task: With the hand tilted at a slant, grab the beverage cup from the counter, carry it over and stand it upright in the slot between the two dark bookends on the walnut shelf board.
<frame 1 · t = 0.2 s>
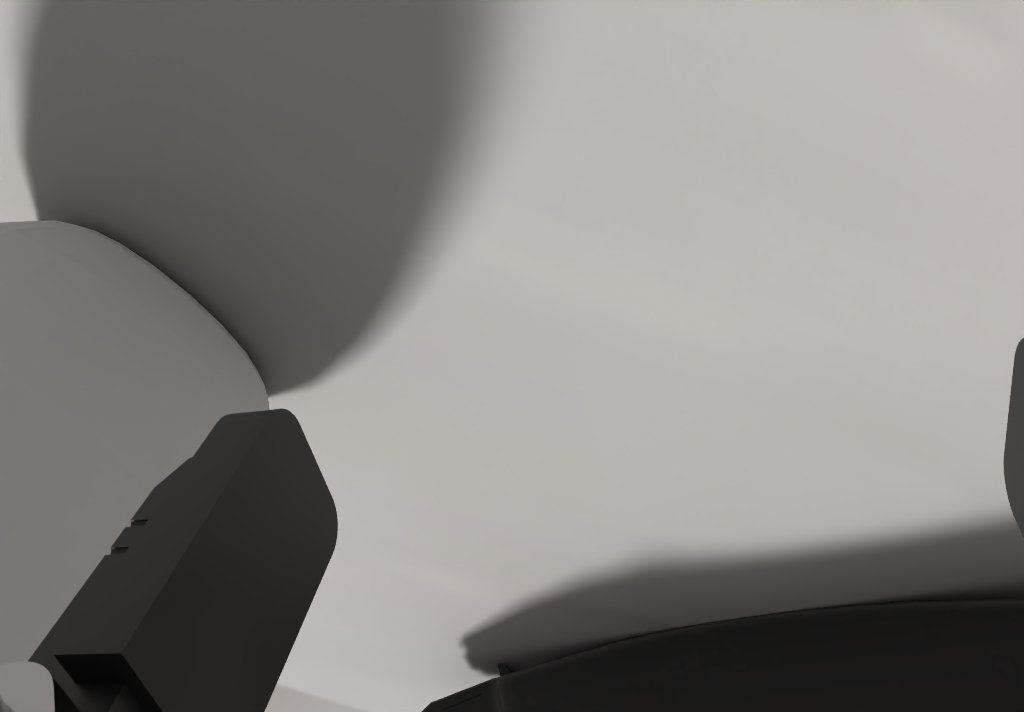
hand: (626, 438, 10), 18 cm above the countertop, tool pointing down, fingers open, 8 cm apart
soap bottle: (174, 306, 32), on the countertop
magazine: (732, 633, 40), on the countertop
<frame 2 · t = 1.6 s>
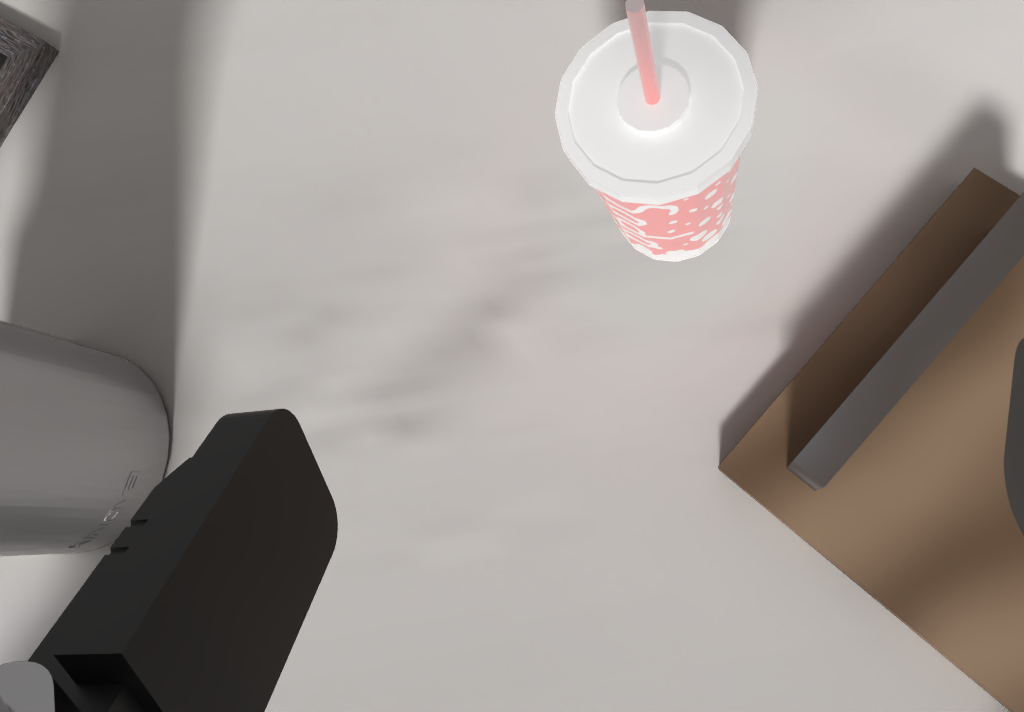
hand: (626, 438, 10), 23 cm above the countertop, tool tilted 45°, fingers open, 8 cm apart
beverage cup: (674, 209, 34), on the countertop
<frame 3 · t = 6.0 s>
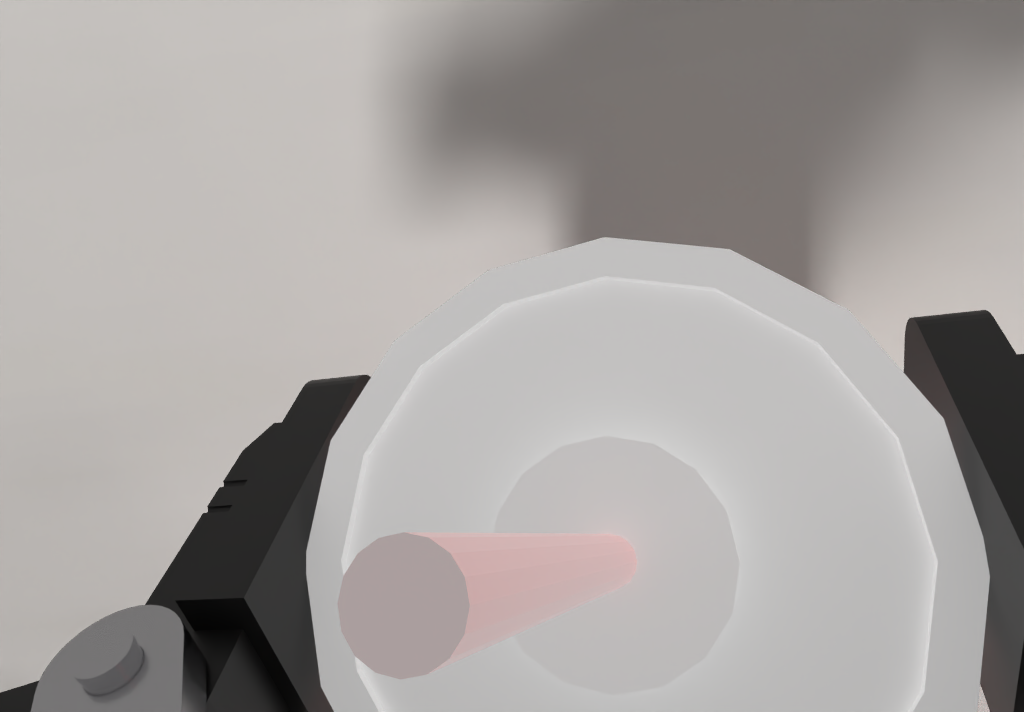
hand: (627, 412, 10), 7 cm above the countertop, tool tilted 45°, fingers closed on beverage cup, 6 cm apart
beverage cup: (680, 546, 16), on the countertop, touching gripper
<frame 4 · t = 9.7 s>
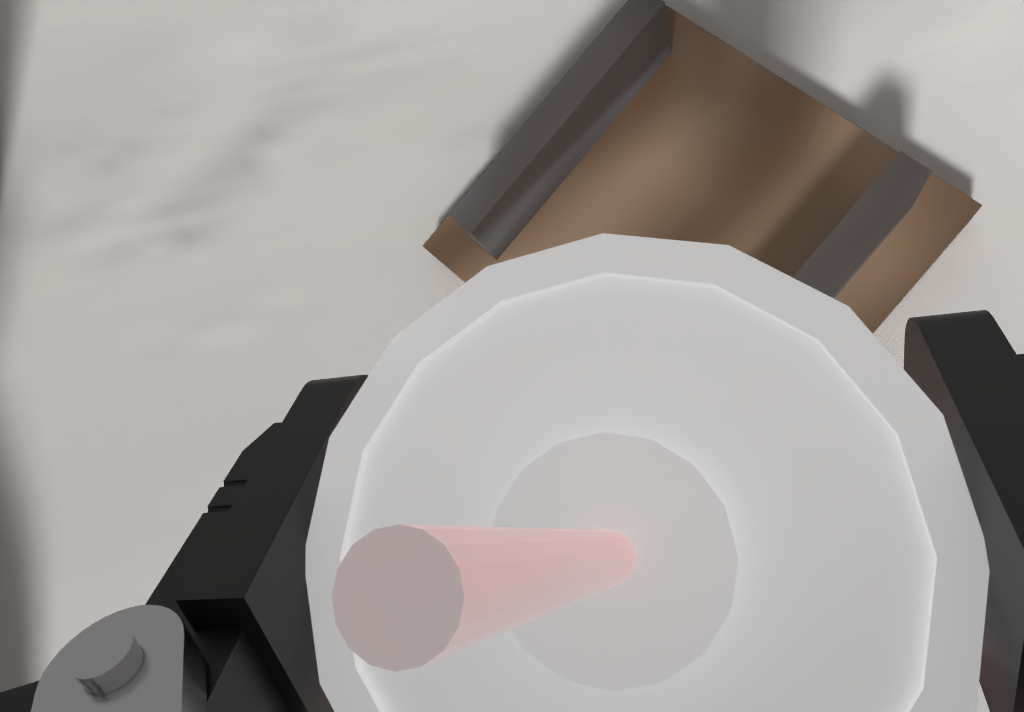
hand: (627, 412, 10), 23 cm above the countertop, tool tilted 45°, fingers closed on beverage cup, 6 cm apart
beverage cup: (680, 544, 16), point 17 cm above the countertop, touching gripper
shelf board: (682, 239, 34), on the countertop
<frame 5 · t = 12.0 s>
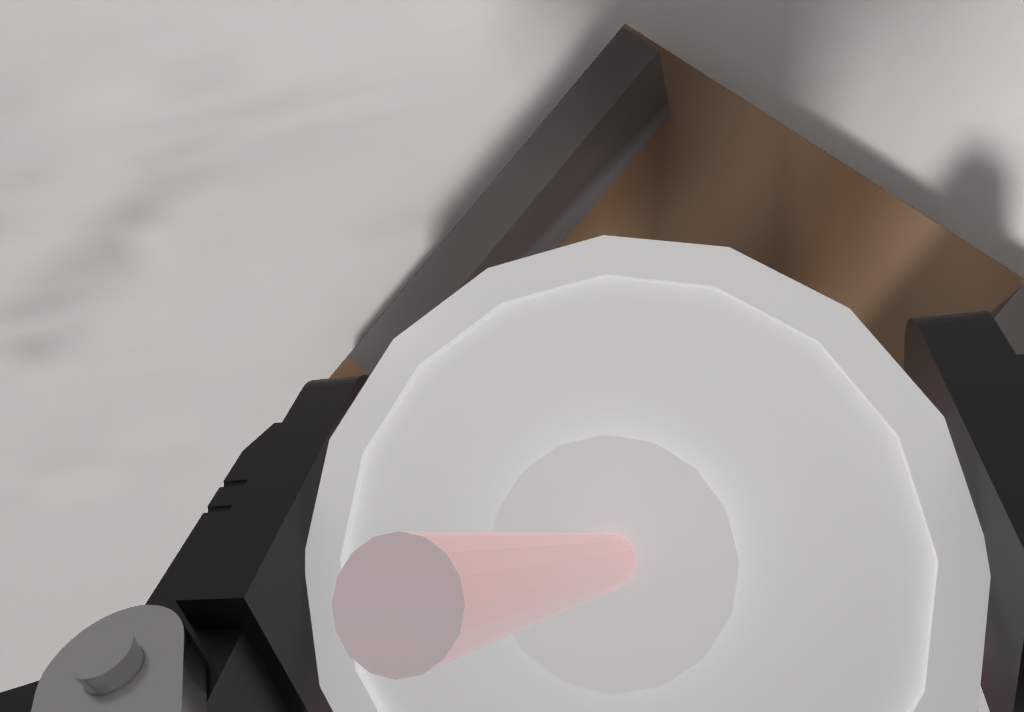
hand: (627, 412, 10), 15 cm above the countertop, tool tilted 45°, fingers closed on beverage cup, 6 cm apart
beverage cup: (680, 545, 16), point 8 cm above the countertop, touching gripper
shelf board: (686, 374, 24), on the countertop
when the fingers open (9 cm above the countertop, at t = 13.9 s): beverage cup drops 1 cm, resting on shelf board.
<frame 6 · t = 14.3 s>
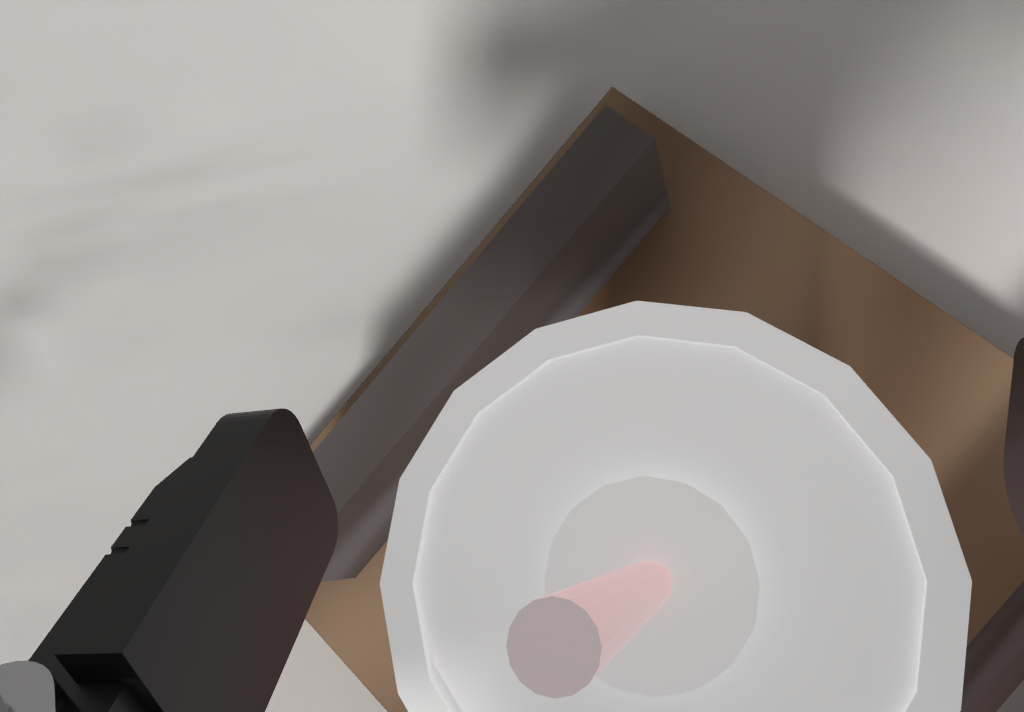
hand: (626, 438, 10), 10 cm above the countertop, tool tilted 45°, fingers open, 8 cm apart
beverage cup: (692, 555, 18), point 1 cm above the countertop, touching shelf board
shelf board: (689, 544, 19), on the countertop
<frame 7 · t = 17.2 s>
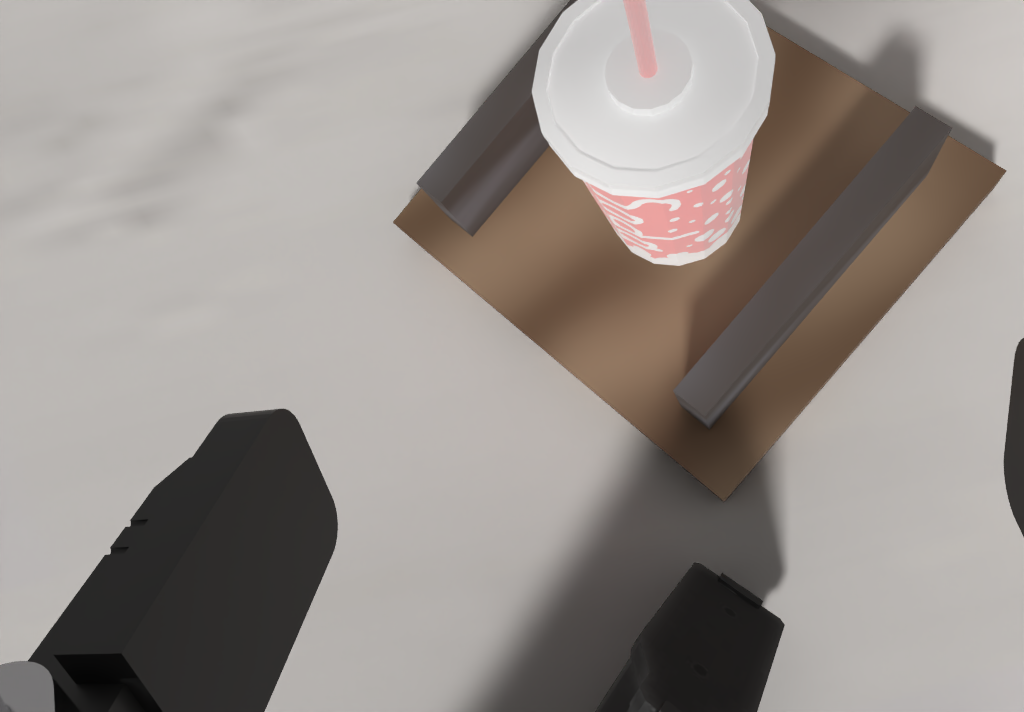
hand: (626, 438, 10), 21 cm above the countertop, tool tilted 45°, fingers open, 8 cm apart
beverage cup: (675, 205, 30), point 1 cm above the countertop, touching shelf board
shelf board: (675, 213, 31), on the countertop
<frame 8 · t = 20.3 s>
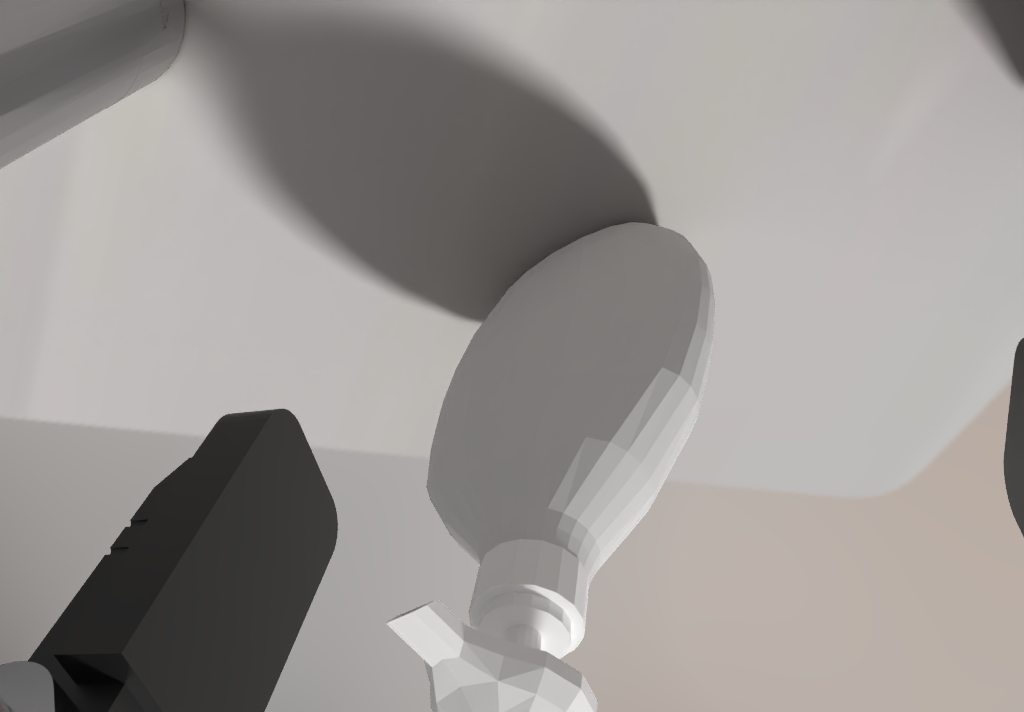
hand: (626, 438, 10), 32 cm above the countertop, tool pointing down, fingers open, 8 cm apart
soap bottle: (574, 268, 45), on the countertop
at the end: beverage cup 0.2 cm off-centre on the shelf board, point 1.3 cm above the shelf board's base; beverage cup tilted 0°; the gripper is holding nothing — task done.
